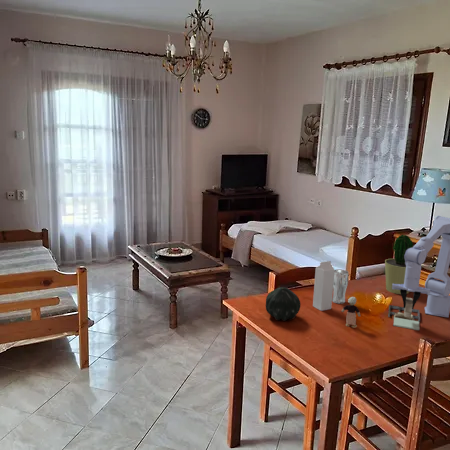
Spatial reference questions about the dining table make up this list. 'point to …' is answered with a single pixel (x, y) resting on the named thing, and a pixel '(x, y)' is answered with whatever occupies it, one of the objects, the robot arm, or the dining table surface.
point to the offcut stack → (401, 315)
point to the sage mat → (406, 323)
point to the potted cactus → (397, 263)
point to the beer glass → (340, 286)
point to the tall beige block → (408, 307)
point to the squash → (282, 304)
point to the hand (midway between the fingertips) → (408, 307)
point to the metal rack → (403, 309)
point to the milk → (323, 286)
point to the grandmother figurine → (351, 312)
